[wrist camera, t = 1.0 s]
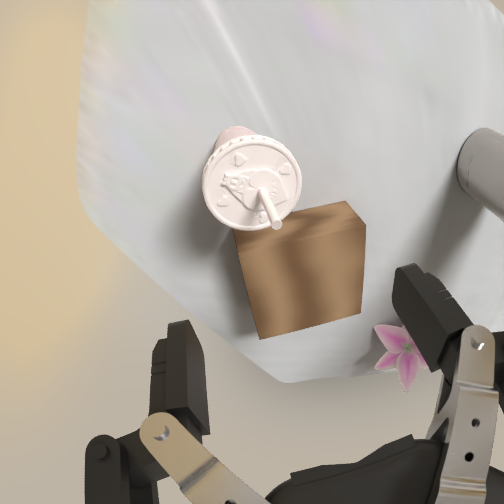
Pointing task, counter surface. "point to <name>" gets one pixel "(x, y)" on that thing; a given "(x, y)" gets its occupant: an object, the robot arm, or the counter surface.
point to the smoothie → (250, 180)
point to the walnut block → (304, 269)
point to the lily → (400, 354)
